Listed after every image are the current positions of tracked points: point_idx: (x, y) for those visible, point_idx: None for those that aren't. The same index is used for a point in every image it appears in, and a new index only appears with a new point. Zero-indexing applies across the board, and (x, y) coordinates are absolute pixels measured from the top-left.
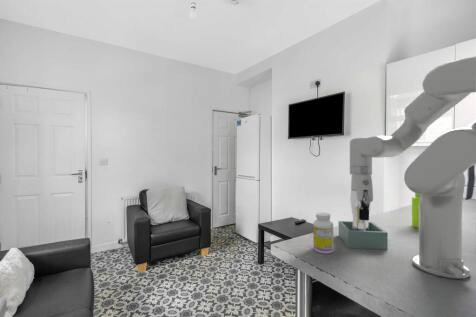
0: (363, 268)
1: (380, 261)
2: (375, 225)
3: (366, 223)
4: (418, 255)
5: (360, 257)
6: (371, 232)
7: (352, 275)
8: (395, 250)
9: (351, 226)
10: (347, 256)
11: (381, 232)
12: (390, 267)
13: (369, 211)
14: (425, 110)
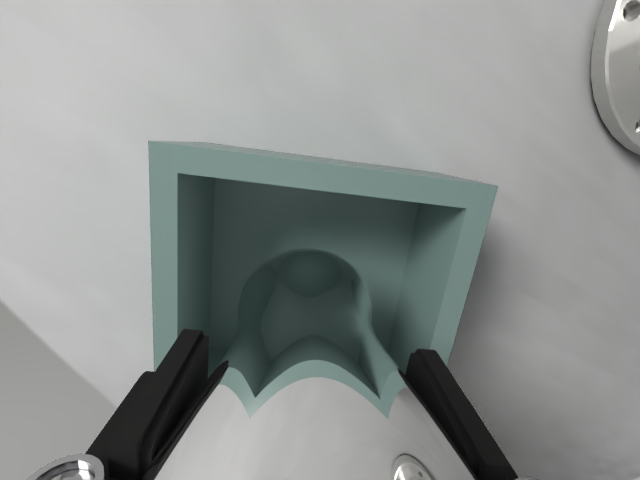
0: (600, 385)
1: (562, 291)
2: (279, 175)
3: (371, 321)
4: (609, 68)
5: (506, 356)
6: (461, 305)
7: (634, 437)
8: (452, 129)
9: (190, 321)
10: (487, 401)
11: (483, 234)
12: (623, 281)
13: (404, 380)
14: None
